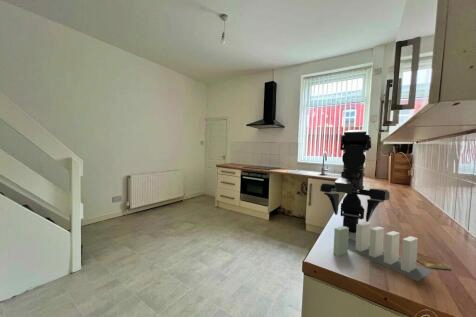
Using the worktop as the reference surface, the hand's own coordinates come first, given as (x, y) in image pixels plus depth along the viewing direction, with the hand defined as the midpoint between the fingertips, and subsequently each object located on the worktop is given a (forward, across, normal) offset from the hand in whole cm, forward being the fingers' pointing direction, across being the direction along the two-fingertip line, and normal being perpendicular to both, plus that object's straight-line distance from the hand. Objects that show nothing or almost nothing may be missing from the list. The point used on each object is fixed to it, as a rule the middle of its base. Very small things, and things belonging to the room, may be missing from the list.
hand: (350, 217), depth 65 cm
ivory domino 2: (+12, +5, +11) cm, 17 cm away
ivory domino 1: (+12, 0, +12) cm, 17 cm away
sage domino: (+13, -3, +2) cm, 14 cm away
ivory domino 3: (+13, +9, +10) cm, 18 cm away
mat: (+13, +5, +10) cm, 17 cm away
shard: (+13, +16, +18) cm, 28 cm away
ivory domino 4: (+13, +13, +9) cm, 20 cm away
